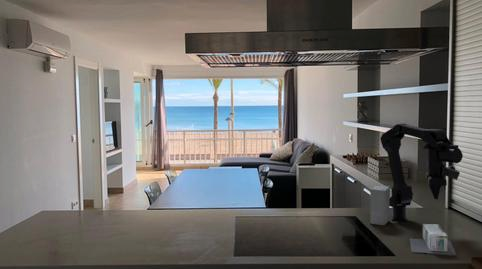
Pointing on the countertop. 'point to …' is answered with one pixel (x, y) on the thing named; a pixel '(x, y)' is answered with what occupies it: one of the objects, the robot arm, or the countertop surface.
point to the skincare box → (379, 204)
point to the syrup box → (434, 237)
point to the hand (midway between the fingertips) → (436, 199)
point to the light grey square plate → (421, 247)
